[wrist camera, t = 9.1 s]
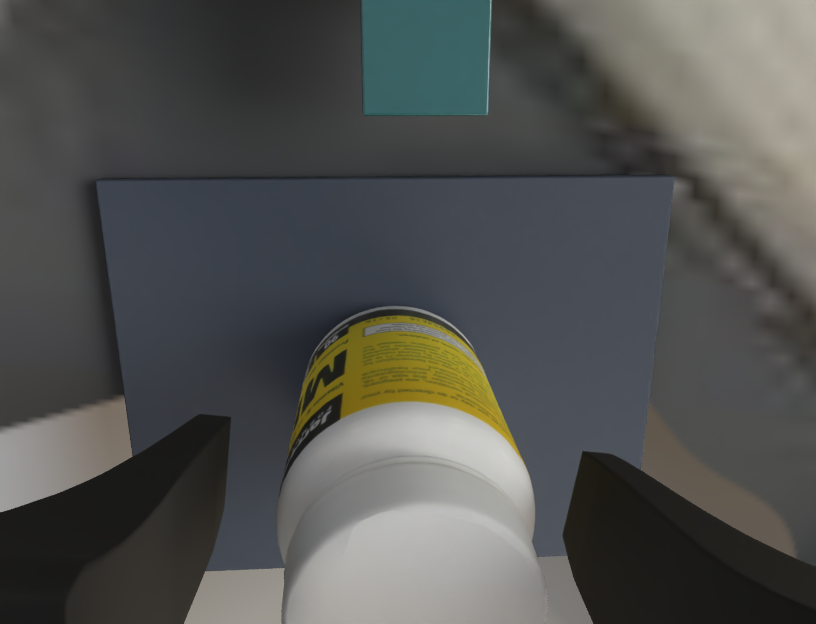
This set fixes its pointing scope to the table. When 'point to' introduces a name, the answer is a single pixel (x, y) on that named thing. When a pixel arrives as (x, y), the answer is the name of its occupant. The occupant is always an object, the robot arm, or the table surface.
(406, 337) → the supplement bottle
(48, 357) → the table surface
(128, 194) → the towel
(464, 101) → the pot
